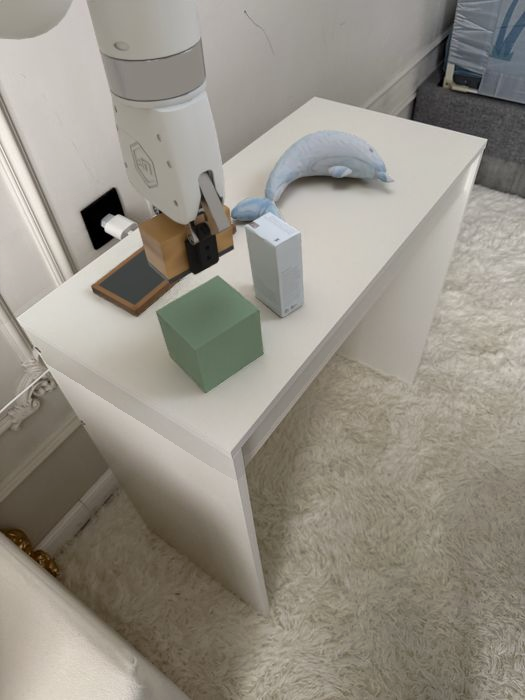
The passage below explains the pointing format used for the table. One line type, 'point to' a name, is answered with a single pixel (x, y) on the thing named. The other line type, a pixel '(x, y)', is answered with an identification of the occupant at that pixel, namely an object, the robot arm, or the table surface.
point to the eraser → (175, 244)
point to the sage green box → (211, 332)
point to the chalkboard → (134, 283)
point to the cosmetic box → (276, 263)
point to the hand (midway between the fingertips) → (191, 254)
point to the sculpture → (315, 168)
